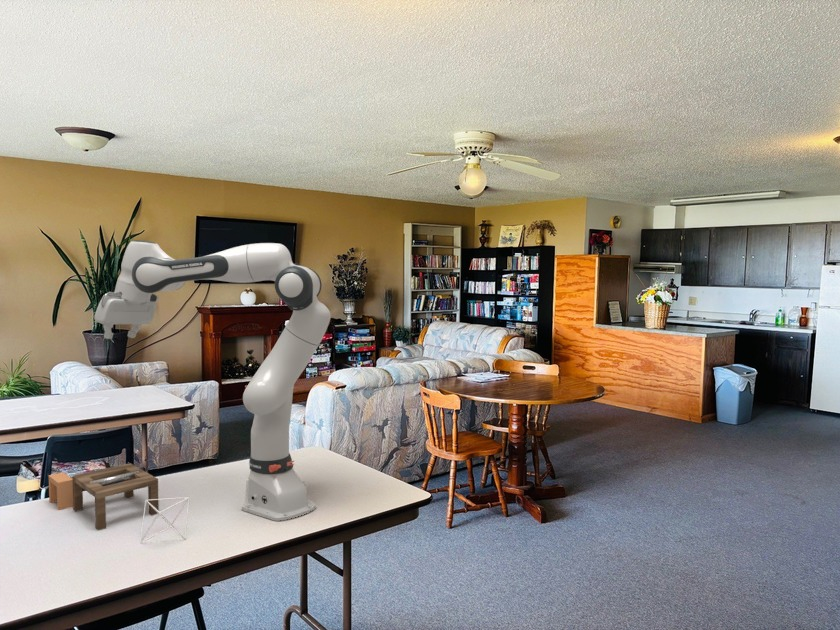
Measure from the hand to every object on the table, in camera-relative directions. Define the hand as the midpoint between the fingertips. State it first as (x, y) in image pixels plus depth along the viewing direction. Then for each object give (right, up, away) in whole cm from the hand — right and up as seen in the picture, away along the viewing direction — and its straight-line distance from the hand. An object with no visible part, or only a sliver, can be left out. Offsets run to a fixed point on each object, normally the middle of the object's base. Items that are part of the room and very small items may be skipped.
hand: (119, 337), depth 177 cm
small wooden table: (+2, -49, -6) cm, 50 cm away
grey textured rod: (+2, -41, -7) cm, 41 cm away
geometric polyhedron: (+23, -51, -22) cm, 60 cm away
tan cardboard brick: (-16, -49, -1) cm, 52 cm away
